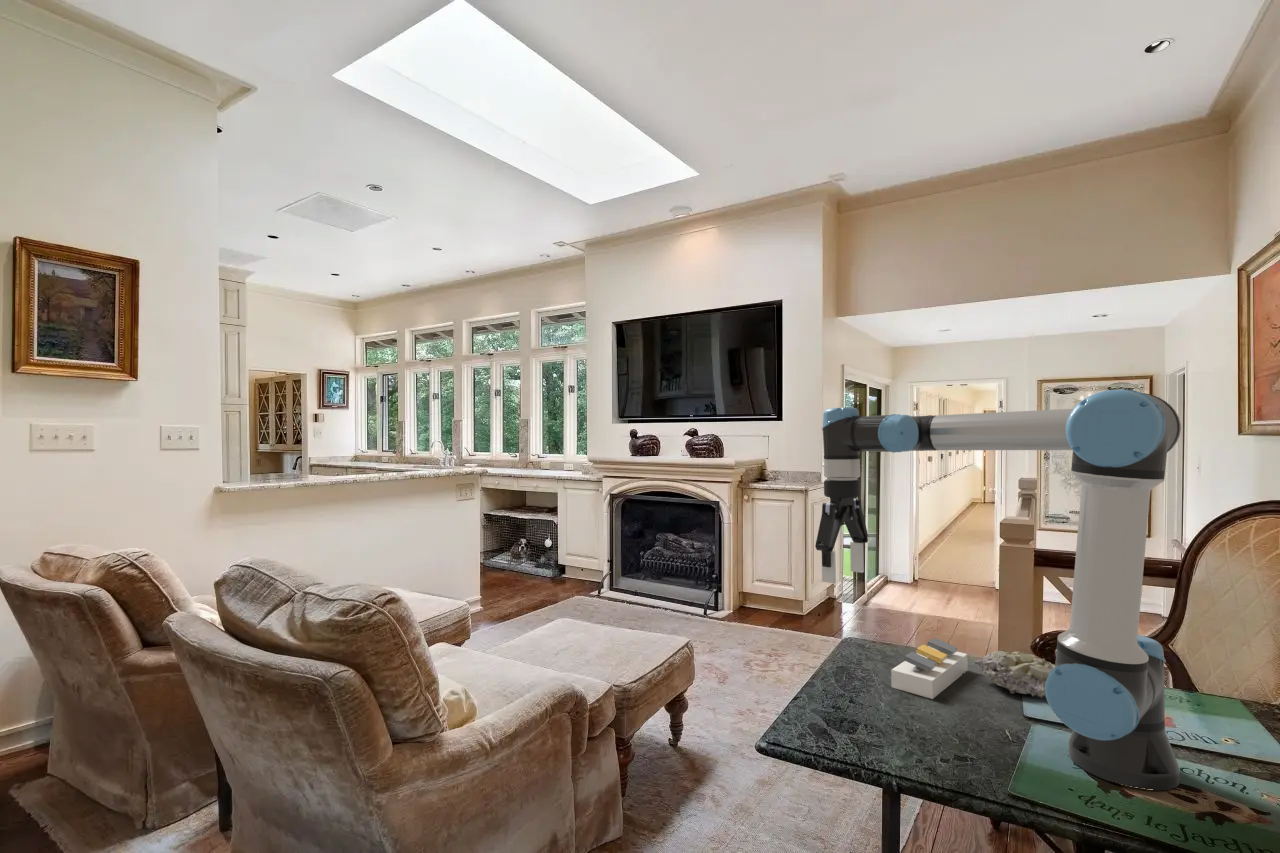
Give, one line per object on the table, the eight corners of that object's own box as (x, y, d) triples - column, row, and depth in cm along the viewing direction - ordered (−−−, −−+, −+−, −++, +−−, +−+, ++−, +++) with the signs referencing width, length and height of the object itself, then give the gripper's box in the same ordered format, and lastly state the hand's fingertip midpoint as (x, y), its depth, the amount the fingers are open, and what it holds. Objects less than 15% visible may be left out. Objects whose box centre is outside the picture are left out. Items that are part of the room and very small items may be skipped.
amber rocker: (946, 659, 145) (947, 654, 145) (940, 663, 142) (941, 659, 142) (922, 648, 149) (923, 644, 149) (915, 652, 146) (916, 648, 146)
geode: (1072, 722, 134) (1017, 683, 149) (1090, 683, 134) (1034, 648, 148) (1014, 703, 130) (963, 665, 145) (1033, 663, 130) (981, 629, 144)
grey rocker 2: (956, 651, 150) (957, 647, 150) (950, 655, 147) (951, 651, 147) (933, 641, 154) (934, 637, 154) (927, 645, 151) (928, 641, 151)
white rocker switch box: (974, 665, 154) (973, 644, 154) (932, 699, 134) (932, 675, 134) (936, 656, 160) (936, 636, 160) (891, 687, 141) (891, 664, 141)
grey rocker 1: (935, 667, 140) (936, 662, 140) (928, 671, 137) (929, 667, 137) (910, 655, 144) (911, 651, 144) (903, 660, 141) (904, 655, 141)
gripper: (850, 475, 145) (852, 565, 145) (797, 481, 127) (799, 584, 127) (882, 476, 140) (884, 570, 140) (831, 482, 122) (833, 590, 122)
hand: (843, 577), depth 133 cm, fingers open, 13 cm apart
